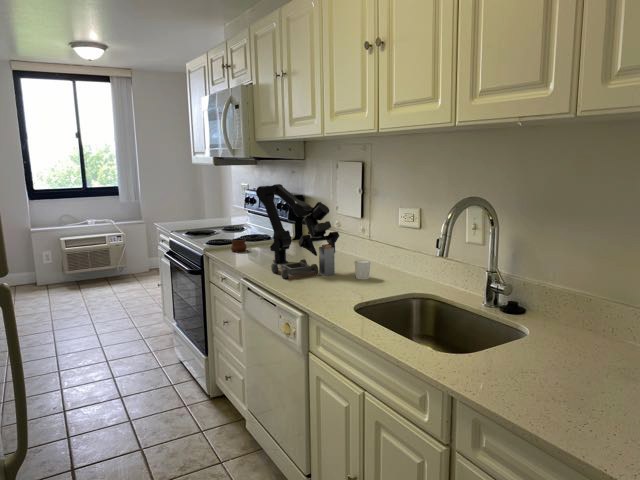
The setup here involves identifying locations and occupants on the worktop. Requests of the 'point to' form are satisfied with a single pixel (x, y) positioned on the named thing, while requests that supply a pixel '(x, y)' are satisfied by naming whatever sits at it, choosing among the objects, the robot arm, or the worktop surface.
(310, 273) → the chassis
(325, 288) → the worktop surface
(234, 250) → the ceramic pot
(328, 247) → the engine block
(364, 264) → the shot glass
